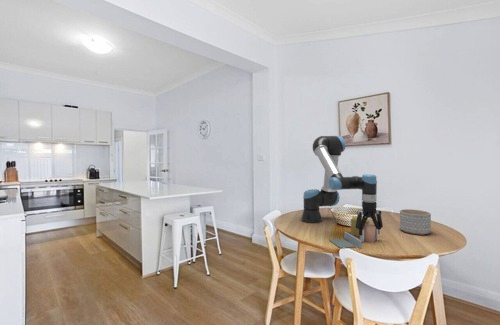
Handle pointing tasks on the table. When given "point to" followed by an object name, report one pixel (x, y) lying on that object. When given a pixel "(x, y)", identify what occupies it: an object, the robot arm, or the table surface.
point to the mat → (342, 243)
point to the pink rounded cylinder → (369, 233)
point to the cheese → (353, 226)
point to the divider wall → (353, 240)
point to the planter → (415, 221)
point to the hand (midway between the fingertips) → (369, 240)
